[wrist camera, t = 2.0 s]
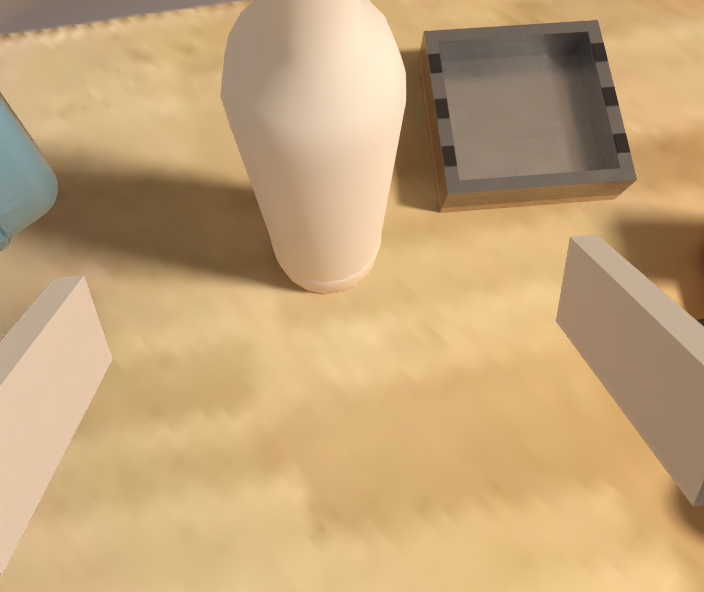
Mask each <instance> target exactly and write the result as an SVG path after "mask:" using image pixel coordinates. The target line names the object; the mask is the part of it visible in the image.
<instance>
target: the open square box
mask: <svg viewBox="0 0 704 592" xmlns="http://www.w3.org/2000/svg"><path fill="white" fill-rule="evenodd" d="M418 61H419V68H420V75H421V82H422V89H423V96H424V103H425V110H426V118H427V125H428V132H429V139H430V146H431V153H432V160H433V167H434V174H435V181H436V188H437V195H438V202H439V209H440V212H453V211H466V210H479V209H492V208H505V207H518V206H531V205H543V204H556V203H569V202H582V201H595V200H608V199H615V198H617V197H618V196H619V195H620V194H621V193H622V192H623V191H625V190H626V189H627V188H628V187H629V186H630V185H631V184H633V183H634V182H635V181H636V180H637V178H636V174H635V170H634V166H633V162H632V158H631V154H630V149H629V145H628V140H627V136H626V133H625V129H624V125H623V121H622V117H621V113H620V109H619V104H618V100H617V96H616V92H615V87H614V84H613V80H612V76H611V72H610V68H609V64H608V59H607V55H606V51H605V47H604V43H603V39H602V35H601V31H600V27H599V23H598V20H592V21H576V22H561V23H545V24H530V25H514V26H499V27H483V28H467V29H452V30H436V31H424V34H423V39H422V44H421V49H420V54H419V59H418Z"/></svg>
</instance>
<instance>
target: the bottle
mask: <svg viewBox="0 0 704 592" xmlns="http://www.w3.org/2000/svg"><path fill="white" fill-rule="evenodd" d="M252 1H253V2H252V3H251V4H250V5H249V6H247V7H246V8H245V9H244V10H243V11H242V12H241V13H240V15H239V17H238V19H237V21H236V22H235V24H234V26H233V28H232V30H231V32H230V34H229V36H228V41H227V45H226V50H225V56H224V65H223V75H222V86H221V99H222V102H223V105H224V108H225V112H226V115H227V118H228V121H229V124H230V127H231V130H232V132H233V135H234V138H235V141H236V143H237V146H238V149H239V152H240V155H241V157H242V160H243V163H244V166H245V168H246V171H247V174H248V177H249V179H250V182H251V185H252V188H253V191H254V193H255V196H256V199H257V202H258V204H259V207H260V210H261V213H262V216H263V218H264V221H265V224H266V227H267V229H268V232H269V235H270V240H271V243H272V247H273V250H274V253H275V256H276V259H277V261H278V263H279V264H280V266H281V268H282V269H283V271H284V272H285V273H286V274H287V276H288V277H289V278H290V279H291V281H292V282H294V283H295V284H297V285H299V286H301V287H302V288H304V289H306V290H307V291H312V292H317V293H322V294H330V293H337V292H343V291H345V290H347V289H349V288H351V287H353V286H355V285H357V284H359V283H360V282H361V281H362V280H363V278H364V277H365V276H366V275H367V274H368V273H369V272H370V271H371V269H372V266H373V264H374V261H375V259H376V256H377V254H378V251H379V248H380V245H381V232H382V226H383V221H384V216H385V210H386V205H387V200H388V194H389V189H390V184H391V179H392V173H393V168H394V163H395V157H396V152H397V147H398V141H399V136H400V131H401V126H402V120H403V115H404V110H405V104H406V72H405V68H404V64H403V61H402V57H401V55H400V52H399V50H398V47H397V44H396V42H395V39H394V37H393V35H392V32H391V30H390V28H389V25H388V23H387V21H386V18H385V16H384V15H383V14H382V13H381V12H380V11H379V10H378V9H377V8H376V7H375V6H374V5H373V4H372V3H371V2H370V1H369V0H252Z"/></svg>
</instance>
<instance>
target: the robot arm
mask: <svg viewBox="0 0 704 592" xmlns="http://www.w3.org/2000/svg"><path fill="white" fill-rule="evenodd" d="M57 192H58V183H57V178H56V175H55V173H54V171H53V170H52V168H51V166H50V165H49V163H48V161H47V160H46V158H45V157H44V155H43V154H42V152H41V151H40V149H39V148H38V146H37V145H36V143H35V142H34V140H33V139H32V137H31V136H30V134H29V133H28V131H27V130H26V128H25V127H24V126H23V124H22V123H21V121H20V120H19V118H18V117H17V115H16V114H15V112H14V111H13V110H12V108H11V107H10V105H9V104H8V102H7V101H6V100H5V98H4V97H3V95H2V94H1V92H0V251H2V250H3V249H5V247H7V246H8V245H9V243H10V239H12V238H13V237H14V236H16V235H17V234H19V233H20V232H21V231H23V230H24V229H25V228H27V227H28V226H29V225H31V224H32V223H34V222H35V221H36V220H38V219H39V218H40V217H42V216H43V215H45V214H46V213H47V212H48V211H49V210H50V208H51V207H52V206H53V204H54V203H55V200H56V196H57ZM556 322H557V323H558V325H559V326H560V327H561V329H562V330H563V331H564V333H565V334H566V335H567V337H568V338H569V339H570V341H571V342H572V344H573V345H574V346H575V348H576V349H577V350H578V352H579V353H580V354H581V356H582V357H583V358H584V360H585V361H586V362H587V364H588V365H589V367H590V368H591V369H592V371H593V372H594V373H595V375H596V376H597V377H598V379H599V380H600V381H601V383H602V384H603V385H604V387H605V388H606V390H607V391H608V392H609V394H610V395H611V396H612V398H613V399H614V400H615V402H616V403H617V404H618V406H619V407H620V408H621V410H622V411H623V413H624V414H625V415H626V417H627V418H628V419H629V421H630V422H631V423H632V425H633V426H634V427H635V429H636V430H637V431H638V433H639V434H640V436H641V437H642V438H643V440H644V441H645V442H646V444H647V445H648V446H649V448H650V449H651V450H652V452H653V453H654V454H655V456H656V457H657V459H658V460H659V461H660V463H661V464H662V465H663V467H664V468H665V469H666V471H667V472H668V473H669V475H670V476H671V477H672V479H673V480H674V482H675V483H676V484H677V486H678V487H679V488H680V490H681V491H682V492H683V494H684V495H685V496H686V498H687V499H688V500H689V502H690V503H691V504H692V506H693V507H694V506H704V319H699V320H695V319H694V318H693V317H692V316H691V315H690V314H688V313H687V312H686V311H685V310H684V309H683V308H682V307H680V306H679V305H678V304H677V303H676V302H675V301H673V300H672V299H671V298H670V297H669V296H668V295H666V294H665V293H664V292H663V291H662V290H661V289H660V288H658V287H657V286H656V285H655V284H654V283H653V282H651V281H650V280H649V279H648V278H647V277H646V276H645V275H643V274H642V273H641V272H640V271H639V270H638V269H636V268H635V267H634V266H633V265H632V264H631V263H629V262H628V261H627V260H626V259H625V258H624V257H623V256H621V255H620V254H619V253H618V252H617V251H616V250H614V249H613V248H612V247H611V246H610V245H609V244H608V243H606V242H605V241H604V240H603V239H602V238H601V237H599V236H598V235H588V236H575V237H570V240H569V246H568V252H567V258H566V264H565V270H564V276H563V282H562V288H561V294H560V300H559V306H558V312H557V318H556ZM111 361H112V356H111V353H110V350H109V347H108V344H107V341H106V338H105V335H104V332H103V329H102V327H101V324H100V321H99V318H98V315H97V312H96V309H95V306H94V303H93V300H92V297H91V294H90V291H89V289H88V286H87V283H86V280H85V277H84V275H81V276H69V277H56V278H54V279H53V280H52V281H51V282H50V284H49V285H48V286H47V287H46V288H45V289H44V291H43V292H42V293H41V294H40V295H39V296H38V298H37V299H36V300H35V301H34V302H33V304H32V305H31V306H30V307H29V308H28V309H27V311H26V312H25V313H24V314H23V315H22V316H21V318H20V319H19V320H18V321H17V322H16V324H15V325H14V326H13V327H12V328H11V329H10V331H9V332H8V333H7V334H6V335H5V336H4V338H3V339H2V340H1V341H0V576H1V575H2V574H3V572H4V570H5V568H6V566H7V564H8V562H9V560H10V558H11V556H12V554H13V552H14V551H15V549H16V547H17V545H18V543H19V541H20V539H21V537H22V535H23V533H24V531H25V529H26V527H27V525H28V523H29V521H30V519H31V517H32V515H33V513H34V511H35V510H36V508H37V506H38V504H39V502H40V500H41V498H42V496H43V494H44V492H45V490H46V488H47V486H48V484H49V482H50V480H51V478H52V476H53V474H54V472H55V470H56V468H57V467H58V465H59V463H60V461H61V459H62V457H63V455H64V453H65V451H66V449H67V447H68V445H69V443H70V441H71V439H72V437H73V435H74V433H75V431H76V429H77V427H78V426H79V424H80V422H81V420H82V418H83V416H84V414H85V412H86V410H87V408H88V406H89V404H90V402H91V400H92V398H93V396H94V394H95V392H96V390H97V388H98V386H99V385H100V383H101V381H102V379H103V377H104V375H105V373H106V371H107V369H108V367H109V365H110V363H111Z"/></svg>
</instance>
